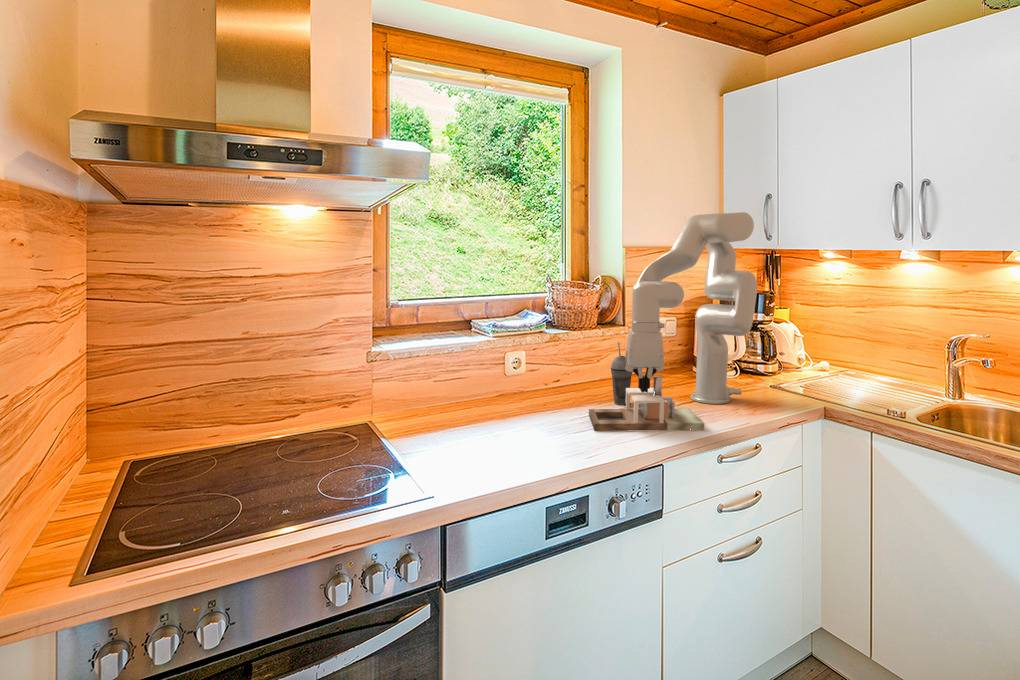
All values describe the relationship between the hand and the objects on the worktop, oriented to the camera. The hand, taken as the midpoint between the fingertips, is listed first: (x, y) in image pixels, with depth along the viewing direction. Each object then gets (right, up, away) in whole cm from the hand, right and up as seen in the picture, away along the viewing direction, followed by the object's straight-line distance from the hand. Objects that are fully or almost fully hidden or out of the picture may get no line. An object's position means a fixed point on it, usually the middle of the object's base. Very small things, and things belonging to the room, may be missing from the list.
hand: (643, 390), depth 159 cm
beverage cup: (-2, -6, +22) cm, 23 cm away
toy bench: (0, -7, +1) cm, 7 cm away
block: (+3, -7, +1) cm, 8 cm away
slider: (+4, -7, +1) cm, 8 cm away
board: (0, -9, +1) cm, 9 cm away
